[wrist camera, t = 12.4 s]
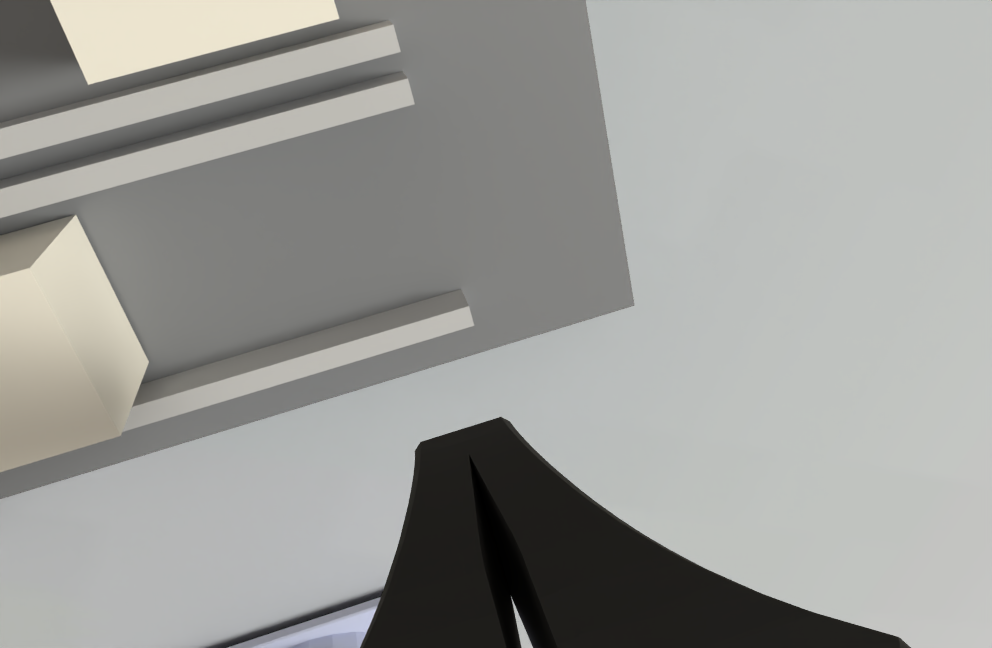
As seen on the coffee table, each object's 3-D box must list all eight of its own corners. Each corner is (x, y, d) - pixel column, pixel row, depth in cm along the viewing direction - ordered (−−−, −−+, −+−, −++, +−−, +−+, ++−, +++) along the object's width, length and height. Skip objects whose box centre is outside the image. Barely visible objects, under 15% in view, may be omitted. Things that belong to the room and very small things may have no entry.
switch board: (607, 275, 21) (649, 322, 19) (-160, 506, 20) (-233, 593, 17) (491, -388, 15) (530, -460, 12) (-658, -133, 13) (-899, -154, 11)
